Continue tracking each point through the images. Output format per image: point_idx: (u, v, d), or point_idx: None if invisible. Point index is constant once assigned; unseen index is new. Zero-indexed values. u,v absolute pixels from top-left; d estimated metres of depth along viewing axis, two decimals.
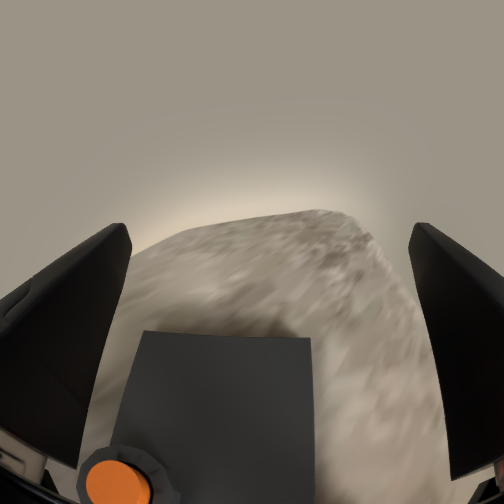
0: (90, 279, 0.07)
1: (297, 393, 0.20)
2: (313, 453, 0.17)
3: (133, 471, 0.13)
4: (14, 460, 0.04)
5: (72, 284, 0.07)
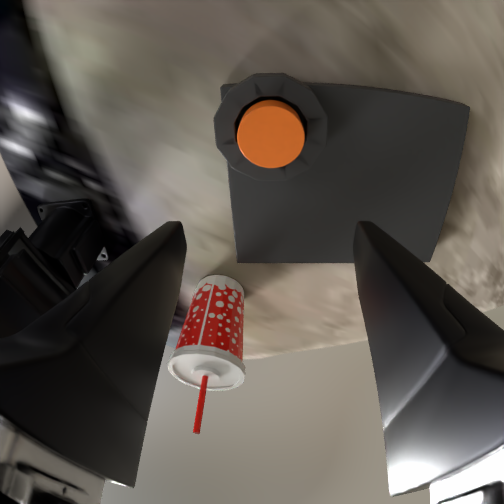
0: (154, 282, 0.07)
1: None
2: (327, 262, 0.25)
3: (297, 155, 0.16)
4: (78, 491, 0.04)
5: (139, 288, 0.06)
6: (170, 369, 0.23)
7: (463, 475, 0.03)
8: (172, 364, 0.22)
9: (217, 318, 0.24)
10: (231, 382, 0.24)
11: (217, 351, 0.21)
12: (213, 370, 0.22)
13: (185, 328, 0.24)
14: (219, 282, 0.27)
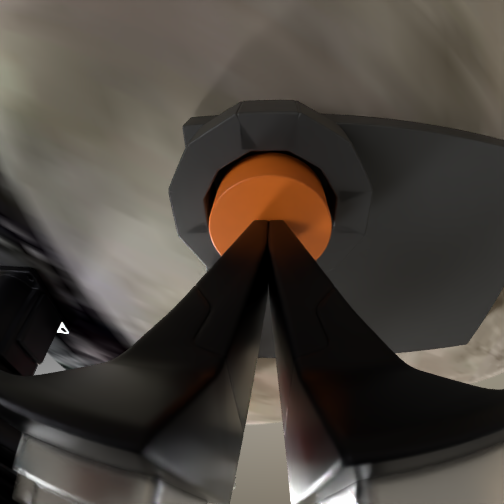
0: (261, 284, 0.07)
1: (413, 342, 0.17)
2: None
3: None
4: None
5: (254, 291, 0.06)
6: None
7: None
8: None
9: None
10: None
11: None
12: None
13: None
14: None
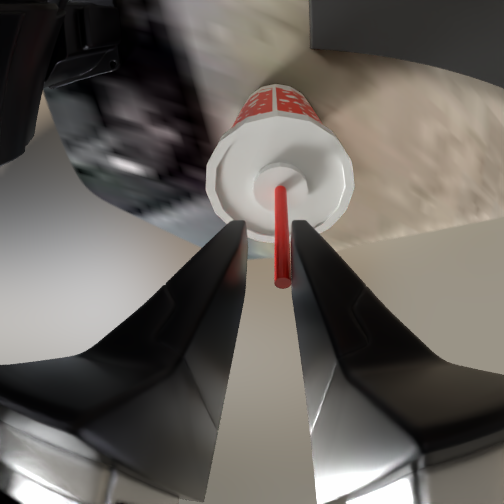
0: (232, 284, 0.07)
1: (480, 65, 0.13)
2: (425, 63, 0.14)
3: None
4: None
5: (223, 291, 0.06)
6: (209, 182, 0.12)
7: (365, 499, 0.03)
8: (217, 164, 0.12)
9: (294, 103, 0.13)
10: (322, 214, 0.13)
11: (313, 121, 0.11)
12: (299, 170, 0.12)
13: (239, 119, 0.13)
14: (283, 87, 0.17)
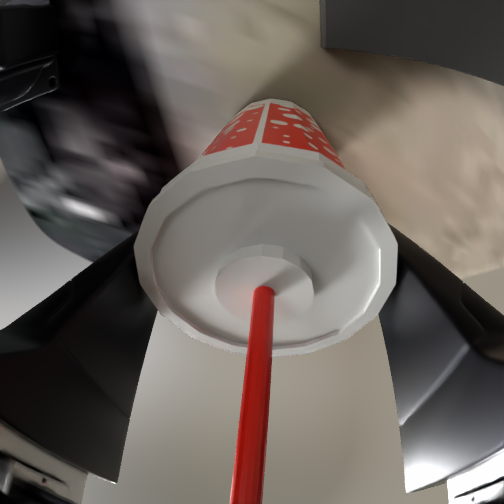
0: (135, 281, 0.07)
1: None
2: (477, 74, 0.09)
3: None
4: (58, 482, 0.04)
5: (118, 287, 0.06)
6: (144, 273, 0.07)
7: (482, 468, 0.03)
8: (150, 245, 0.07)
9: (295, 127, 0.08)
10: (337, 321, 0.08)
11: (328, 165, 0.06)
12: (298, 259, 0.06)
13: (202, 155, 0.08)
14: (281, 103, 0.12)
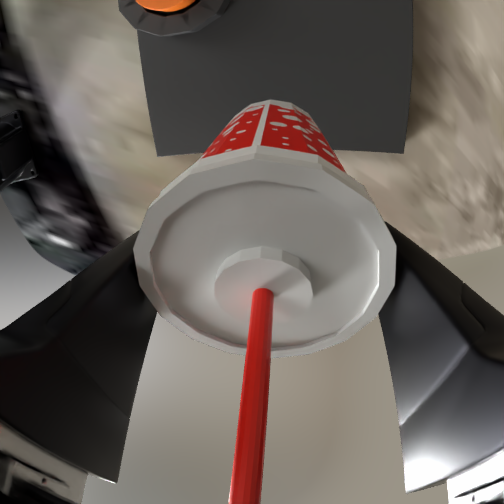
0: (135, 281, 0.07)
1: (334, 134, 0.18)
2: None
3: None
4: (58, 482, 0.04)
5: (118, 287, 0.06)
6: (143, 274, 0.07)
7: (482, 468, 0.03)
8: (149, 247, 0.07)
9: (295, 129, 0.08)
10: (336, 322, 0.08)
11: (327, 168, 0.06)
12: (297, 261, 0.06)
13: (202, 157, 0.08)
14: (281, 104, 0.12)
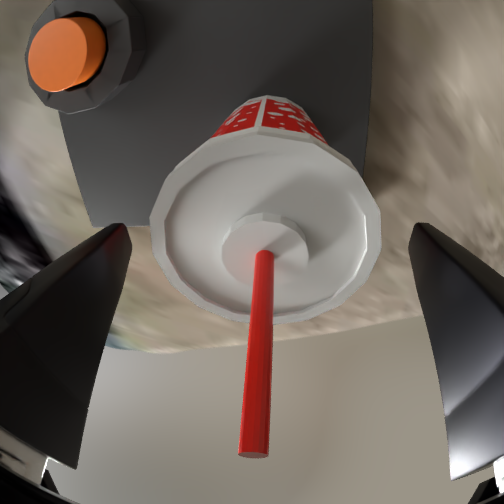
0: (90, 279, 0.07)
1: None
2: None
3: (84, 67, 0.10)
4: (14, 460, 0.04)
5: (72, 284, 0.07)
6: (157, 242, 0.08)
7: None
8: (164, 215, 0.07)
9: (290, 117, 0.09)
10: (330, 286, 0.09)
11: (317, 144, 0.07)
12: (294, 225, 0.07)
13: None
14: (276, 99, 0.13)
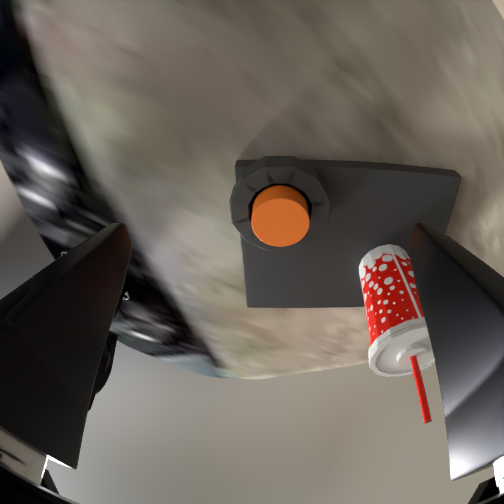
0: (90, 279, 0.07)
1: None
2: (325, 306, 0.28)
3: (302, 236, 0.20)
4: (14, 460, 0.04)
5: (72, 284, 0.07)
6: (374, 355, 0.18)
7: None
8: (383, 347, 0.17)
9: None
10: (427, 361, 0.19)
11: None
12: (425, 346, 0.17)
13: (386, 303, 0.19)
14: (397, 252, 0.23)
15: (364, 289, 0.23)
